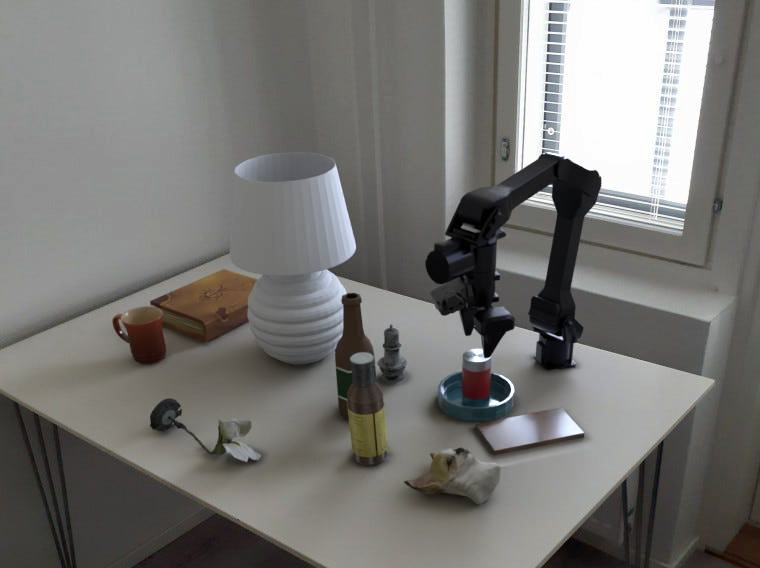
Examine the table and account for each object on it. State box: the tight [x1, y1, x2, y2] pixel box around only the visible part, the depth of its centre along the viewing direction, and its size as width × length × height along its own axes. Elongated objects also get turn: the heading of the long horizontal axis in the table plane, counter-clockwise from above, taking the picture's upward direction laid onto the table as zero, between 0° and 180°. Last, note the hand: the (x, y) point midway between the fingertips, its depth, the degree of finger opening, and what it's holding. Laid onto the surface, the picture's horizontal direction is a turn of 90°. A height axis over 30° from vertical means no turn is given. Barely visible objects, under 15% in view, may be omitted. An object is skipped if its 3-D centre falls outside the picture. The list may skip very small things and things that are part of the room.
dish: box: [437, 370, 516, 423], centre depth 163 cm, size 14×14×3 cm
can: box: [461, 348, 492, 407], centre depth 161 cm, size 5×5×10 cm
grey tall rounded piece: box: [377, 324, 408, 384], centre depth 171 cm, size 6×6×12 cm
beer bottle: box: [334, 292, 377, 421], centre depth 157 cm, size 8×8×24 cm
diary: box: [149, 268, 259, 344], centre depth 201 cm, size 23×19×6 cm
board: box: [474, 407, 585, 456], centre depth 154 cm, size 17×9×1 cm, turn 105°
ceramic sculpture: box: [403, 447, 502, 505], centre depth 139 cm, size 11×9×15 cm
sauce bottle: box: [347, 352, 388, 467], centre depth 146 cm, size 6×6×20 cm
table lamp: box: [229, 151, 357, 365], centre depth 174 cm, size 25×25×40 cm
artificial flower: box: [149, 398, 261, 463], centre depth 155 cm, size 9×22×10 cm, turn 50°
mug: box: [112, 305, 167, 365], centre depth 184 cm, size 12×9×10 cm
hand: (477, 346), depth 158 cm, fingers open, 9 cm apart
